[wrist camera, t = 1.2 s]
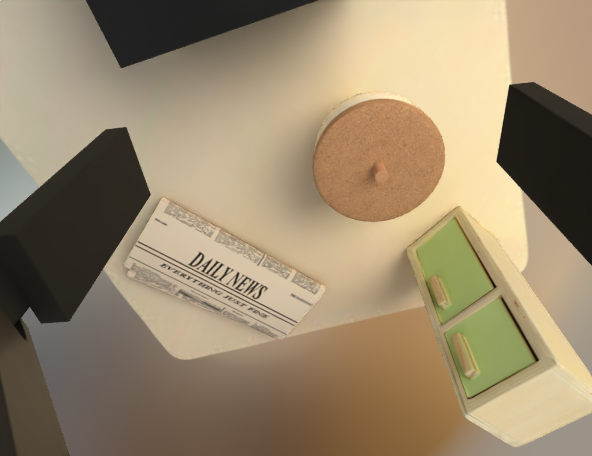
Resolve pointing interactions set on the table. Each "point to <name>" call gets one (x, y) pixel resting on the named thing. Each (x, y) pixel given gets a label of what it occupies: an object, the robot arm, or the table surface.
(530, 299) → the toy refrigerator
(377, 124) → the trinket box
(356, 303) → the table surface
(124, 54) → the box
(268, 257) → the newspaper
